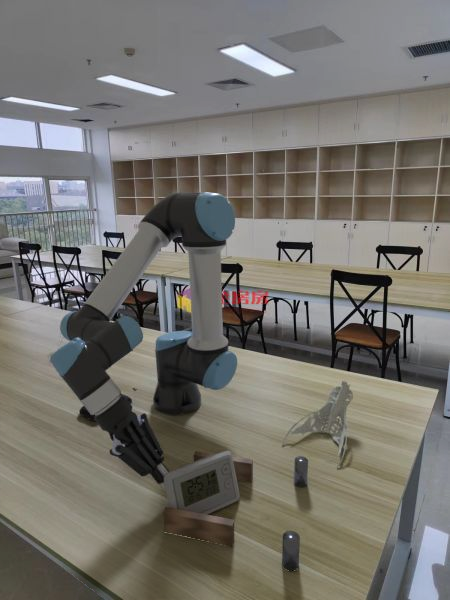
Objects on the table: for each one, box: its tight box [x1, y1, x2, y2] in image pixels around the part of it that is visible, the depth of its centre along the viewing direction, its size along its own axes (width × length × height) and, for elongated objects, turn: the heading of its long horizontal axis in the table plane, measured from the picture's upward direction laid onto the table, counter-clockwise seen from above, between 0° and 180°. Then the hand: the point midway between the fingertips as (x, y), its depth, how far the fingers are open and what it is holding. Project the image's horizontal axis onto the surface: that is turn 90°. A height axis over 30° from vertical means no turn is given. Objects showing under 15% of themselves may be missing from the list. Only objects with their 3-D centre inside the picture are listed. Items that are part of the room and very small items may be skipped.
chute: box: [162, 450, 254, 548], centre depth 89 cm, size 14×20×5 cm
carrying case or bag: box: [79, 393, 133, 423], centre depth 128 cm, size 11×3×15 cm
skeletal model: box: [281, 380, 354, 469], centre depth 112 cm, size 16×9×25 cm
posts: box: [281, 455, 309, 572], centre depth 84 cm, size 3×25×6 cm, turn 165°
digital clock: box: [164, 450, 241, 515], centre depth 87 cm, size 16×9×11 cm, turn 109°
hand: (173, 490), depth 90 cm, fingers closed
